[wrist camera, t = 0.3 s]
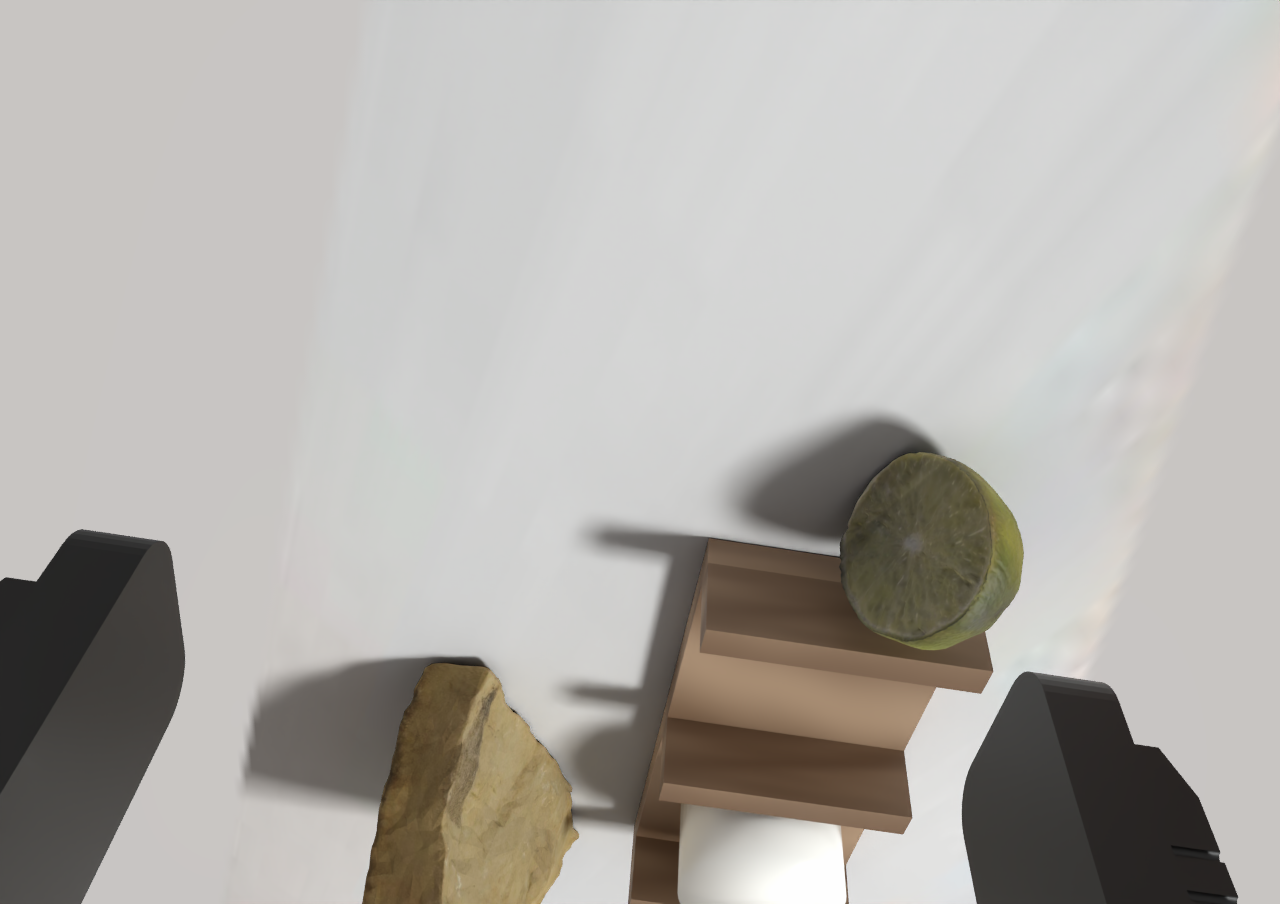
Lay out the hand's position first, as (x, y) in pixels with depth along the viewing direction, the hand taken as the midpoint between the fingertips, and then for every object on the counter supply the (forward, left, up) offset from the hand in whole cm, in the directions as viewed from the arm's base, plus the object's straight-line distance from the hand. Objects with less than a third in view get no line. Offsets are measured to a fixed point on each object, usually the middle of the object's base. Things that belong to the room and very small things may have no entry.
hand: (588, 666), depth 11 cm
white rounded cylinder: (+27, +8, -16) cm, 32 cm away
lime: (+12, +9, -17) cm, 23 cm away
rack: (+23, +8, -17) cm, 29 cm away
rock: (+27, -2, -17) cm, 32 cm away
